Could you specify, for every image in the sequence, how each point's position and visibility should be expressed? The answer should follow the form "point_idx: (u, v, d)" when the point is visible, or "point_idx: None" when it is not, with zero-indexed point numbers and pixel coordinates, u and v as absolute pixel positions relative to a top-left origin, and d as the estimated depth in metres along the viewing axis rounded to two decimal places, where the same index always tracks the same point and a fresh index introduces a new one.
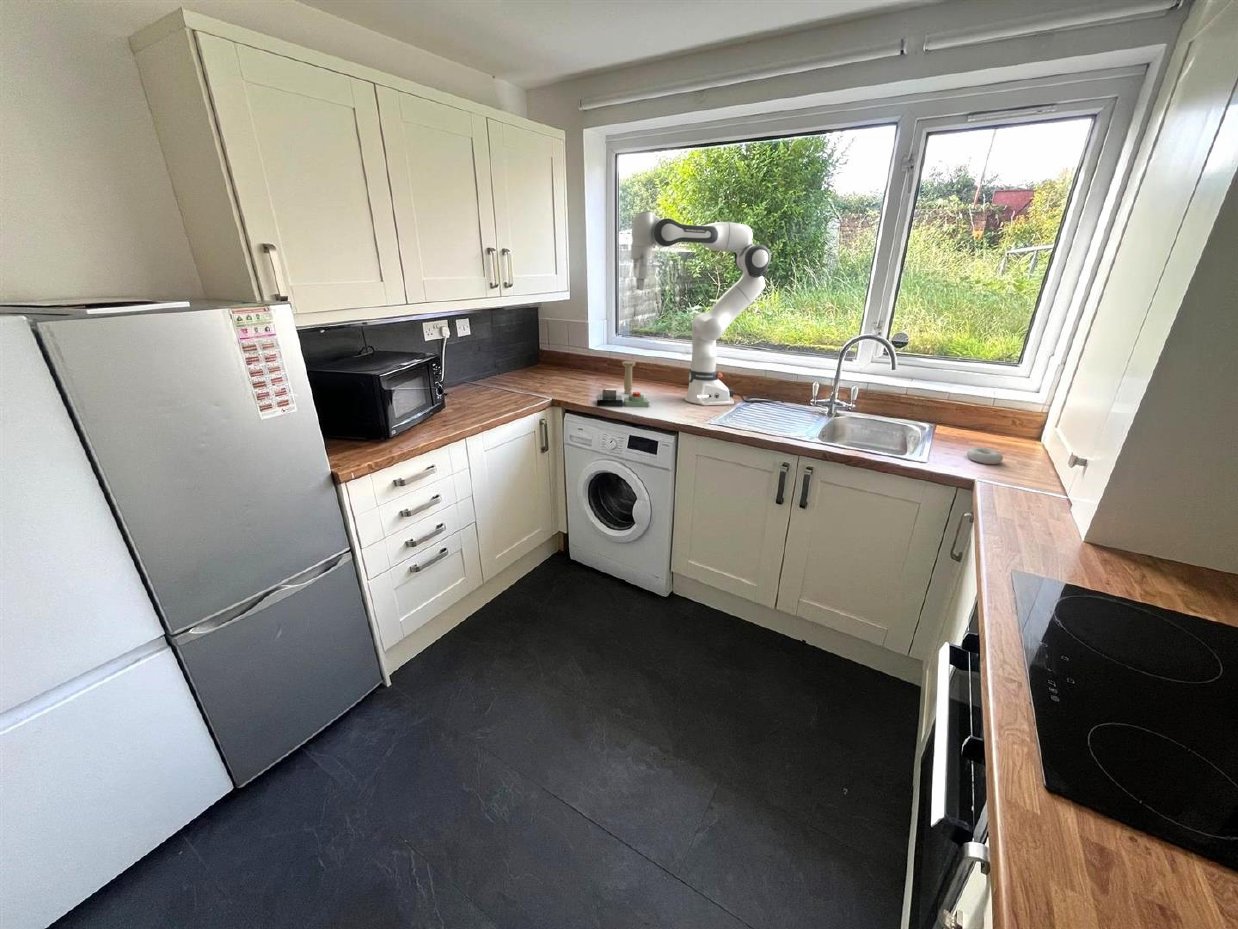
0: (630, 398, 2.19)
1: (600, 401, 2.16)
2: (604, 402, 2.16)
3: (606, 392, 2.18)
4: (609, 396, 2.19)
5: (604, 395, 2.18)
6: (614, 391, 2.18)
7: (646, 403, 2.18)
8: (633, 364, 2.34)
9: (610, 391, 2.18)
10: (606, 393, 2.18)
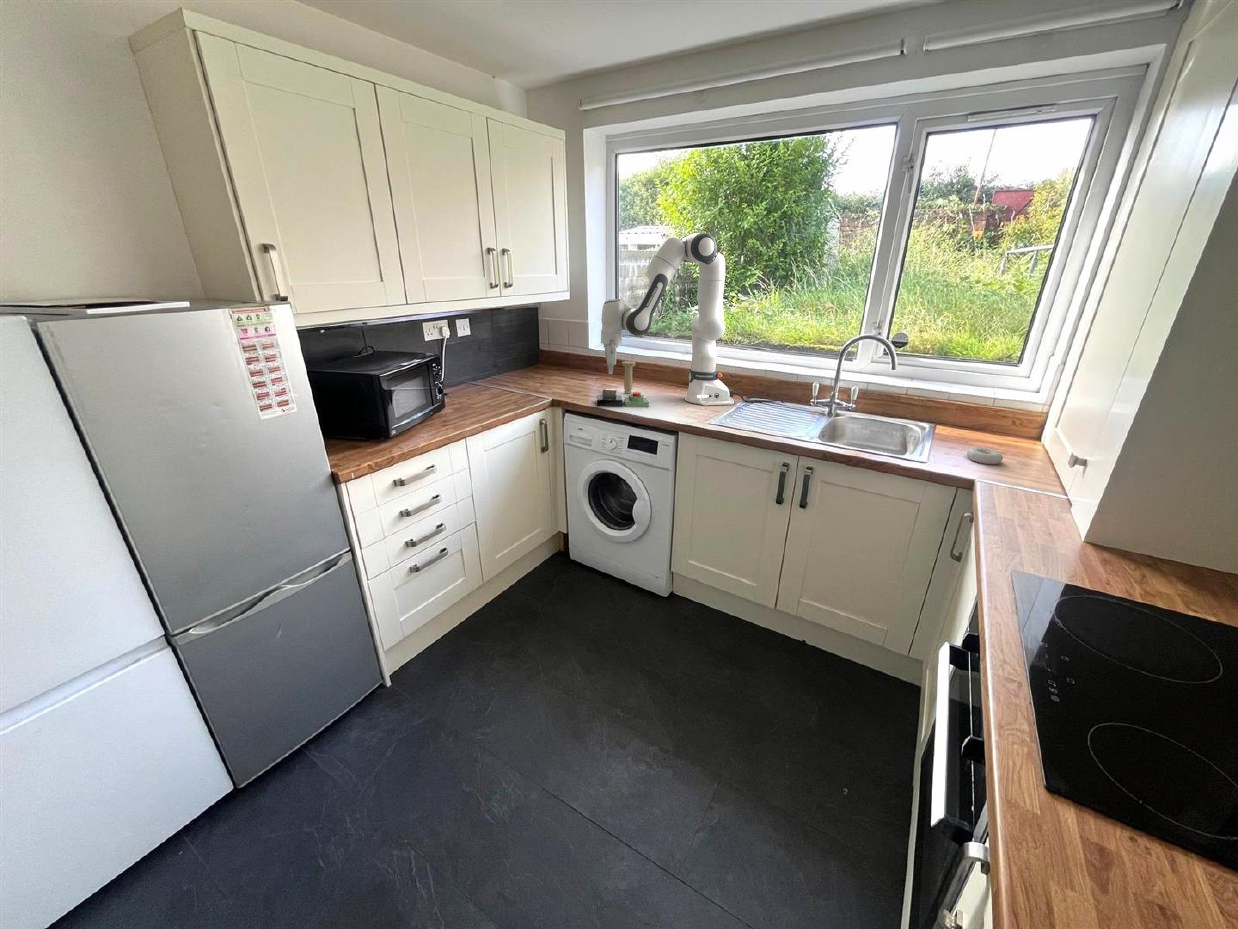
0: (630, 398, 2.19)
1: (600, 401, 2.16)
2: (604, 402, 2.16)
3: (606, 392, 2.18)
4: (609, 396, 2.19)
5: (604, 395, 2.18)
6: (614, 391, 2.18)
7: (646, 403, 2.18)
8: (633, 364, 2.34)
9: (610, 391, 2.18)
10: (606, 393, 2.18)
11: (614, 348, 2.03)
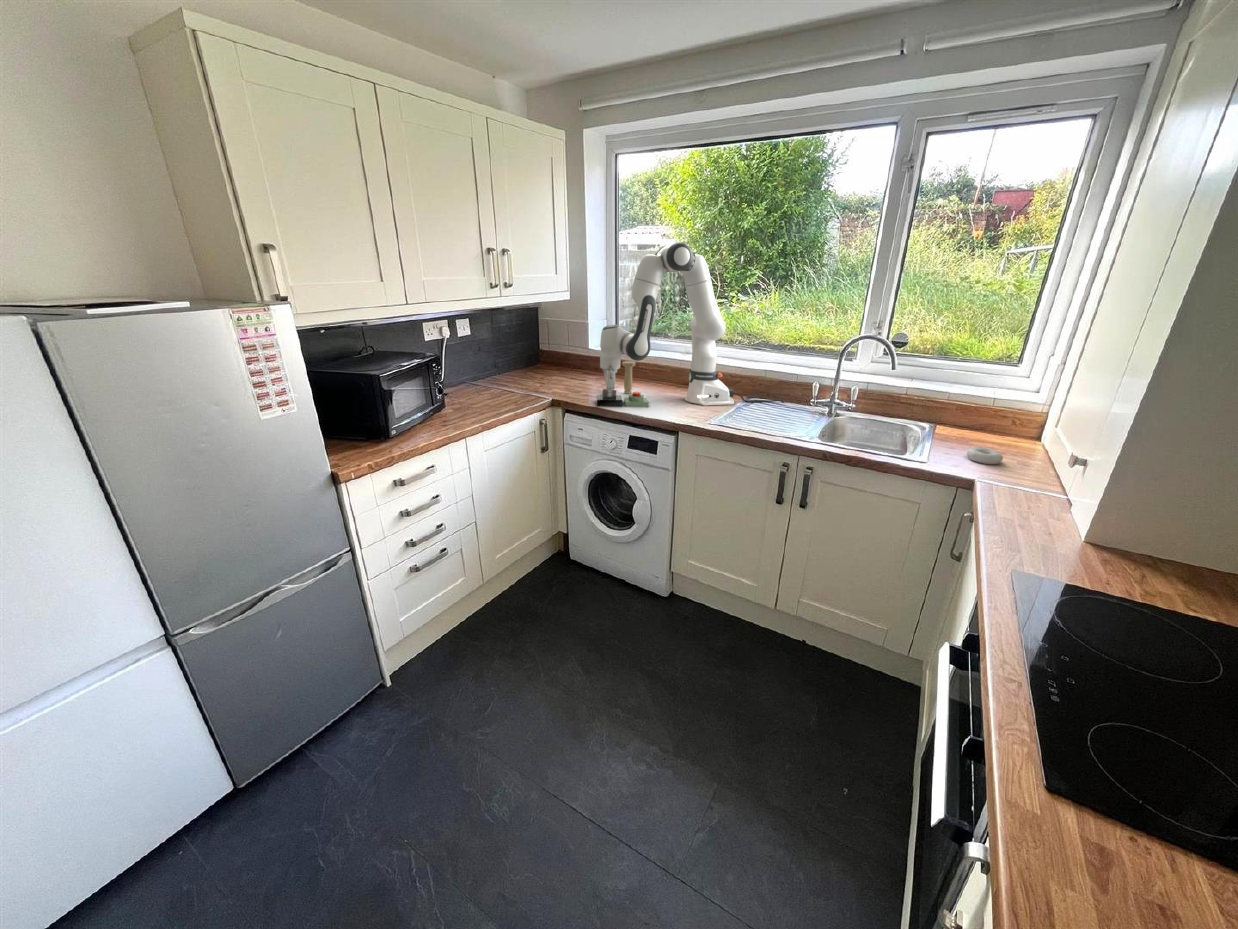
0: (630, 398, 2.19)
1: (600, 401, 2.16)
2: (604, 402, 2.16)
3: (606, 392, 2.18)
4: None
5: (604, 395, 2.18)
6: (614, 391, 2.18)
7: (646, 403, 2.18)
8: (633, 364, 2.34)
9: None
10: (606, 393, 2.18)
11: (613, 373, 2.07)
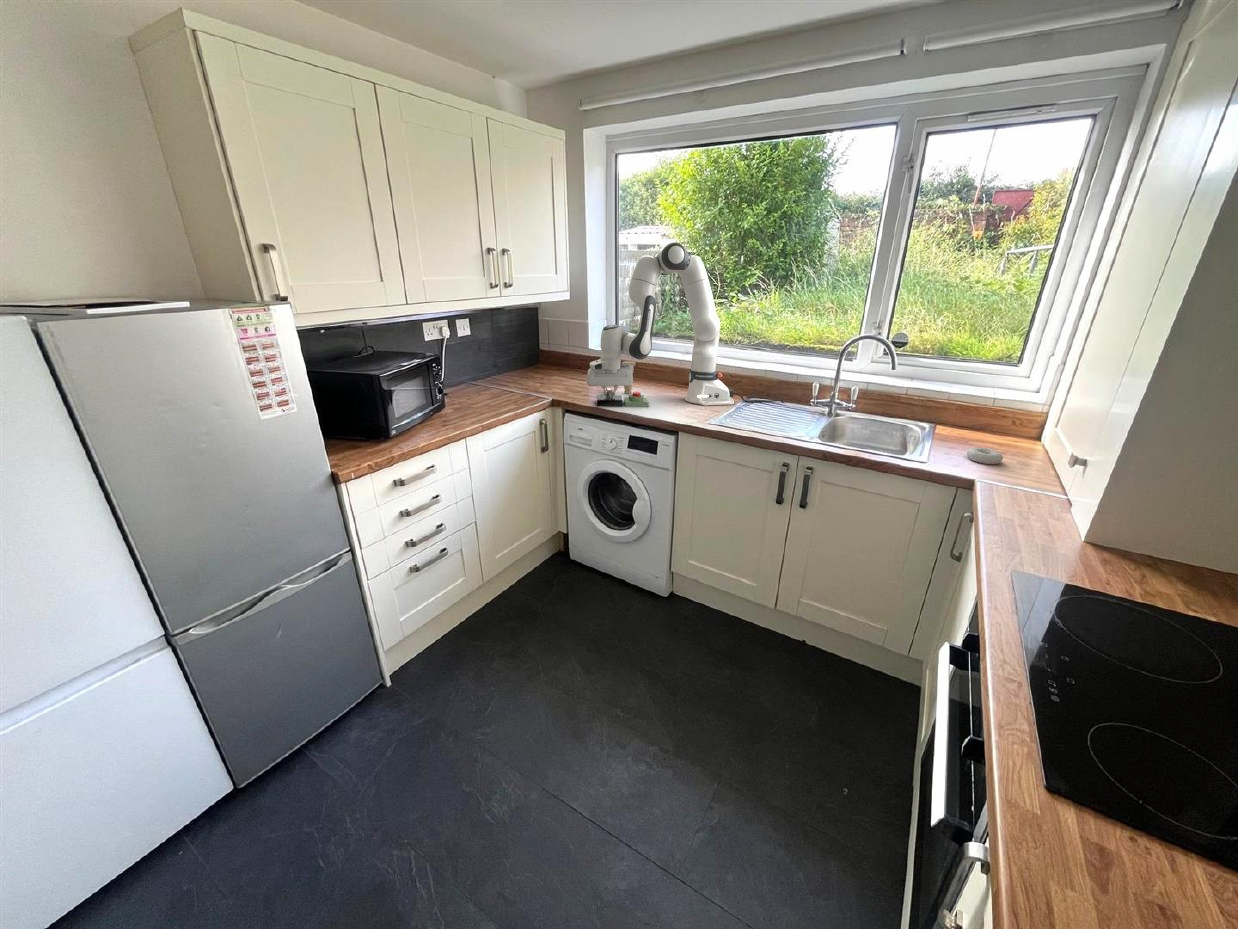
0: (630, 398, 2.19)
1: (600, 401, 2.16)
2: (604, 402, 2.16)
3: None
4: None
5: None
6: None
7: (646, 403, 2.18)
8: (633, 364, 2.34)
9: None
10: None
11: None
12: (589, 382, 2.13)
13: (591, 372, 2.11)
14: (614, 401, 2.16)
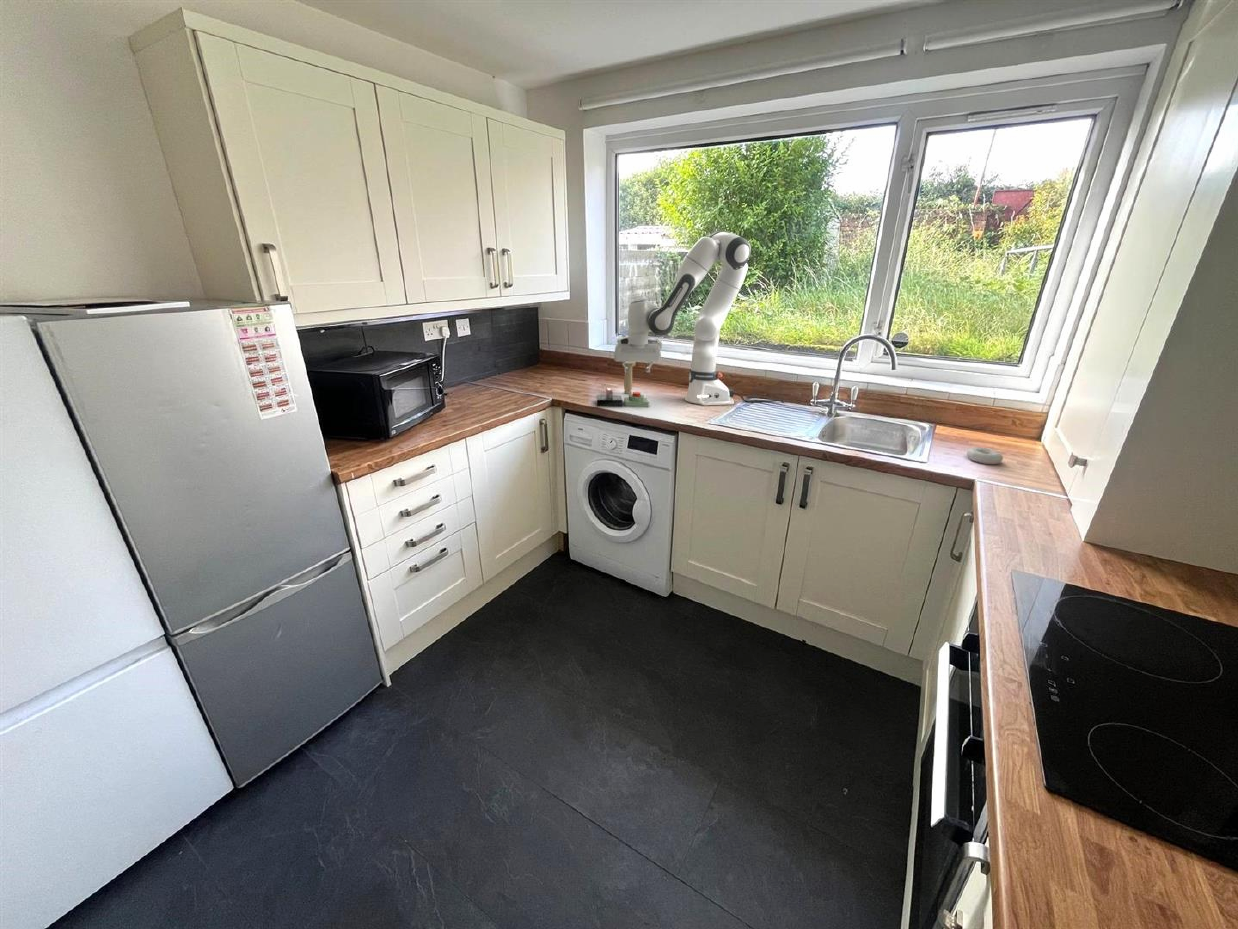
0: (630, 398, 2.19)
1: (600, 401, 2.16)
2: (604, 402, 2.16)
3: None
4: None
5: None
6: None
7: (646, 403, 2.18)
8: (633, 364, 2.34)
9: None
10: None
11: None
12: (615, 357, 2.12)
13: (617, 347, 2.10)
14: (614, 401, 2.16)
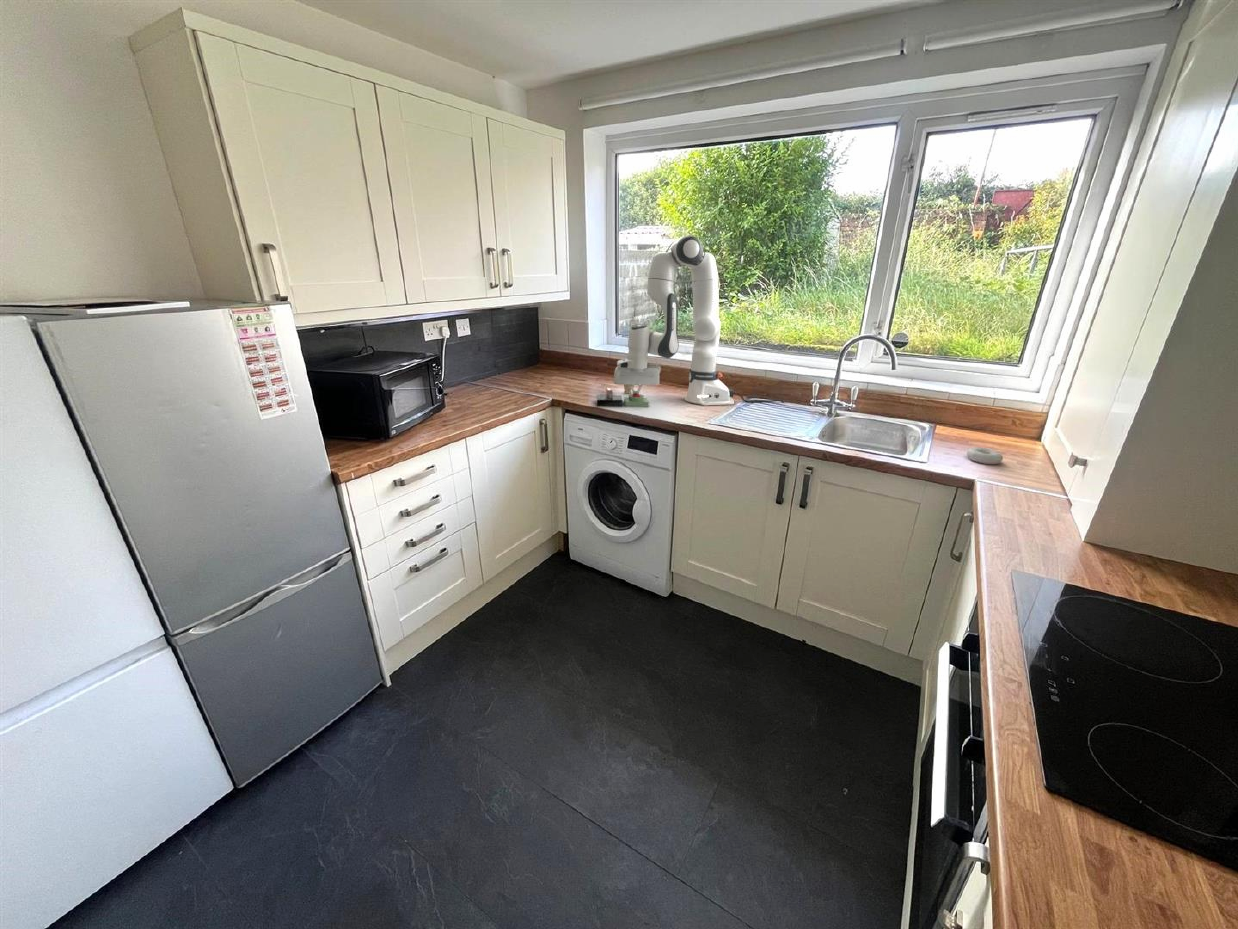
0: (630, 398, 2.19)
1: (600, 401, 2.16)
2: (604, 402, 2.16)
3: None
4: None
5: None
6: None
7: (646, 403, 2.18)
8: None
9: None
10: None
11: None
12: (615, 380, 2.16)
13: (617, 370, 2.14)
14: (614, 401, 2.16)
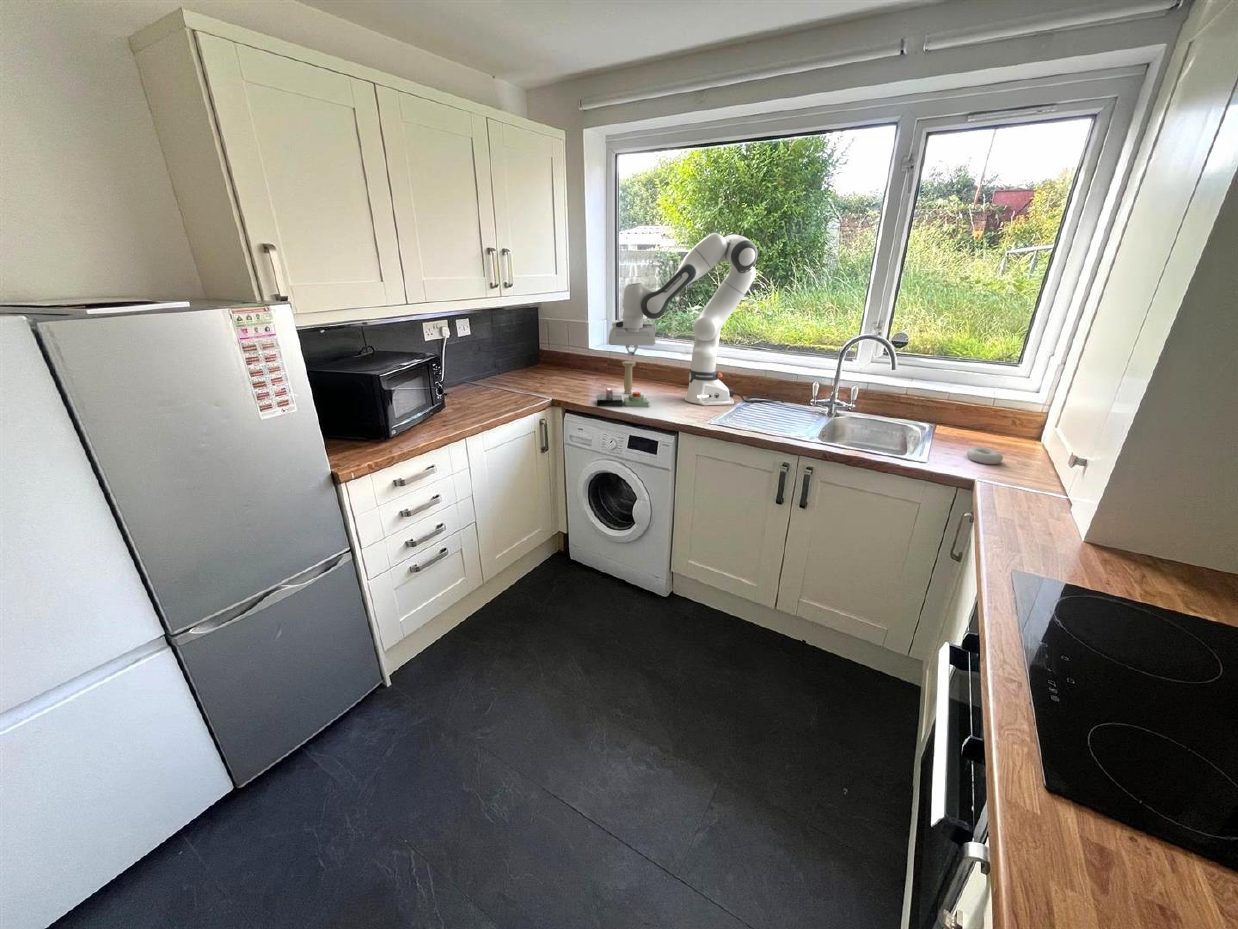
0: (630, 398, 2.19)
1: (600, 401, 2.16)
2: (604, 402, 2.16)
3: None
4: None
5: None
6: None
7: (646, 403, 2.18)
8: (633, 364, 2.34)
9: None
10: None
11: None
12: (610, 341, 2.13)
13: (612, 330, 2.11)
14: (614, 401, 2.16)
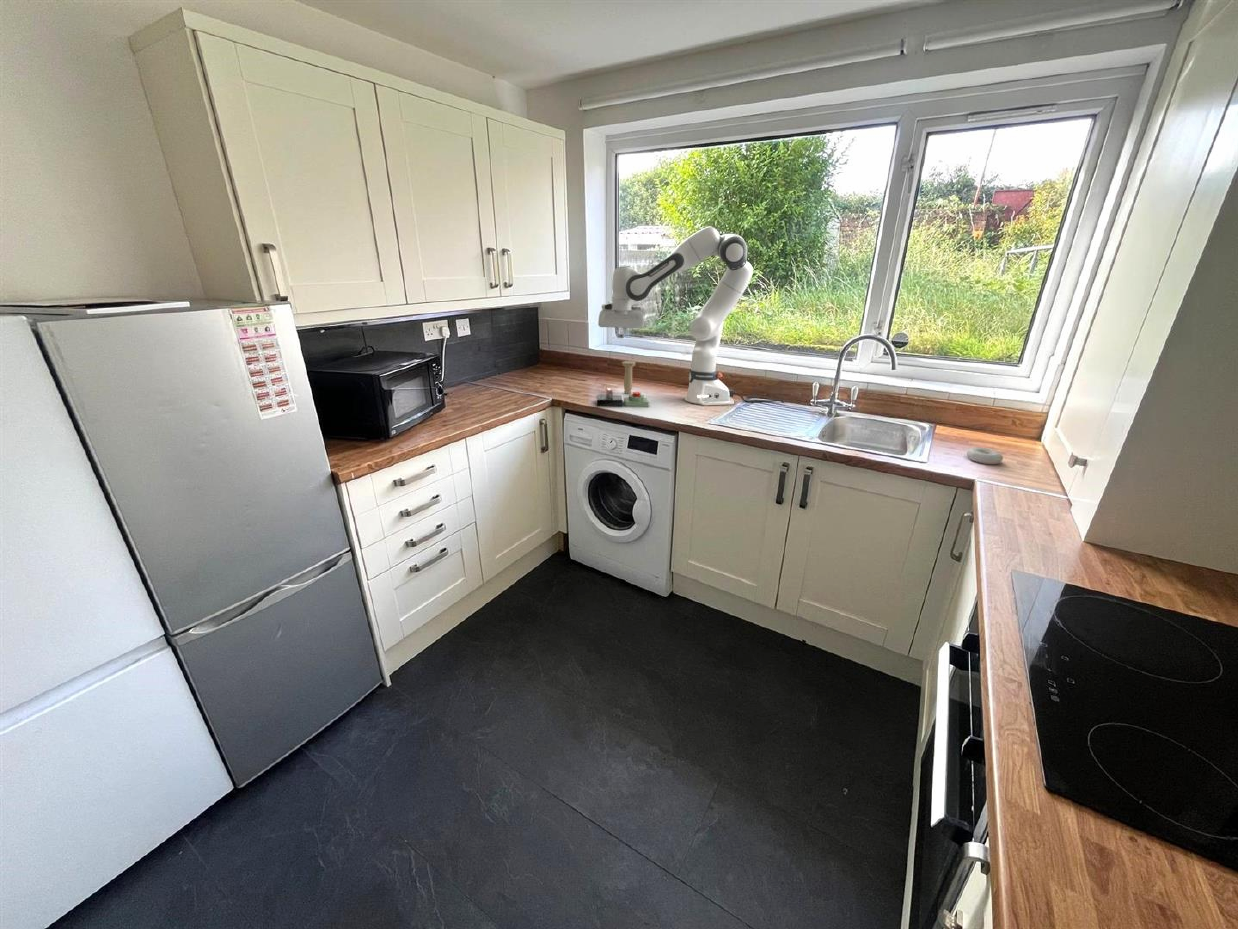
0: (630, 398, 2.19)
1: (600, 401, 2.16)
2: (604, 402, 2.16)
3: None
4: None
5: None
6: None
7: (646, 403, 2.18)
8: (633, 364, 2.34)
9: None
10: None
11: None
12: (600, 323, 2.19)
13: (601, 312, 2.17)
14: (614, 401, 2.16)
